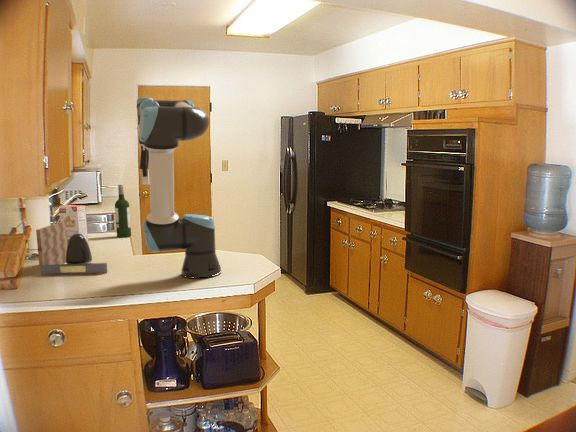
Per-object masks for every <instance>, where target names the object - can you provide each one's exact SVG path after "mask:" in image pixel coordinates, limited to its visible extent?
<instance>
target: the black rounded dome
mask: <svg viewBox="0 0 576 432" xmlns="http://www.w3.org/2000/svg"><path fill="white" fill-rule="evenodd" d="M92 261H93V255H92V251H91V248H90V246H89V242H88V243H87V241H86V239H85V238H84V236H83V235H82V234H78V233H77V234H74V235H72V236H71V238H70V239H69V242H68V244H67V250H66V263H65V264H86V263H92Z"/></svg>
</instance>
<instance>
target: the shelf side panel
mask: <svg viewBox="0 0 576 432" xmlns="http://www.w3.org/2000/svg"><path fill="white" fill-rule="evenodd" d="M35 232H36V244H37V256H38V265H39V274H40V275H41V268H40V266H41V265H51V264H67V263H66V250H67V245H68V244H67V233H66V221H64V222H60V221H59V222H57V223H53V224H50V225H47V226H44V227H41V228H38V229H36V230H35Z"/></svg>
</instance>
